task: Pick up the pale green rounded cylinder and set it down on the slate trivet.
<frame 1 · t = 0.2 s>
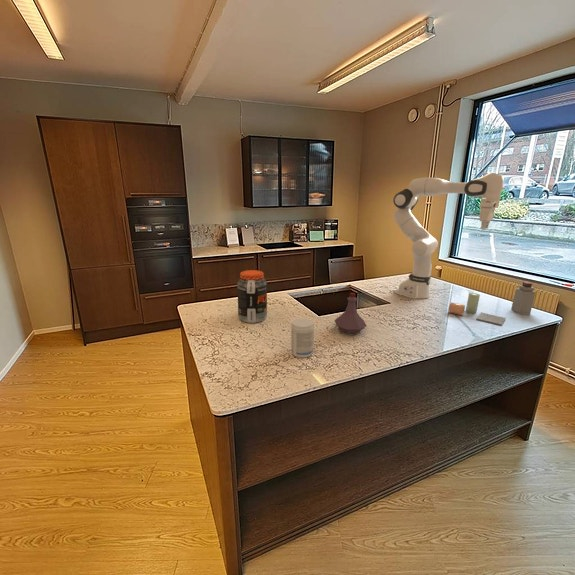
hand: (484, 228, 183), 48 cm above the countertop, tool pointing down, fingers open, 8 cm apart
perfume bottle: (520, 311, 191), on the countertop
pale green rounded cylinder: (470, 311, 189), on the countertop
supplement tub: (301, 353, 141), on the countertop
supplement tub 2: (252, 318, 177), on the countertop
tipped terracotta pot: (455, 313, 186), on the countertop
flask: (349, 331, 163), on the countertop
slate trivet: (490, 319, 179), on the countertop
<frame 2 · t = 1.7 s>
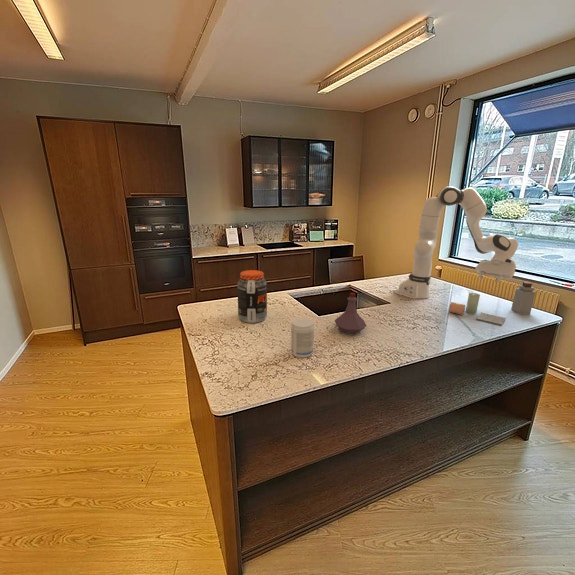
hand: (488, 280, 190), 18 cm above the countertop, tool tilted 45°, fingers open, 8 cm apart
tipped terracotta pot: (455, 313, 186), on the countertop, tilted 21°
everything else where it was.
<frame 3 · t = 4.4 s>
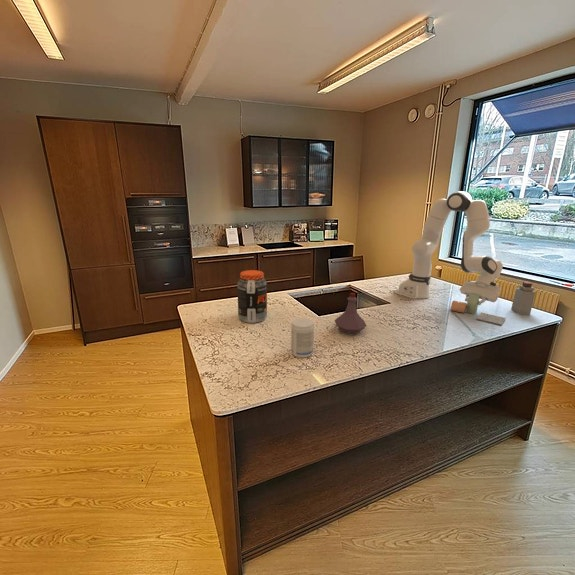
hand: (472, 302, 187), 6 cm above the countertop, tool tilted 45°, fingers closed on pale green rounded cylinder, 6 cm apart
pale green rounded cylinder: (470, 311, 189), on the countertop, touching gripper
tipped terracotta pot: (457, 307, 187), point 3 cm above the countertop, tilted 93°
everything else where it was.
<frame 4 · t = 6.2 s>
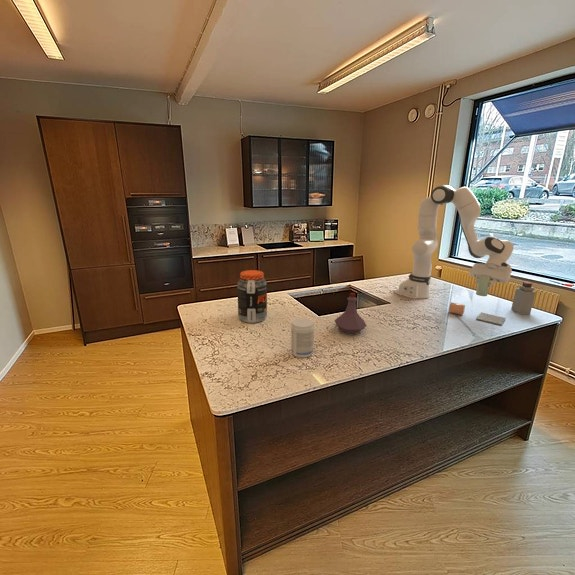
hand: (482, 284, 180), 18 cm above the countertop, tool tilted 45°, fingers closed on pale green rounded cylinder, 6 cm apart
pale green rounded cylinder: (481, 294, 182), point 12 cm above the countertop, touching gripper
tipped terracotta pot: (455, 313, 186), on the countertop, tilted 7°
everything else where it was.
when the fingers open (8 cm above the countertop, at t = 9.0 s): pale green rounded cylinder stays where it is, resting on slate trivet.
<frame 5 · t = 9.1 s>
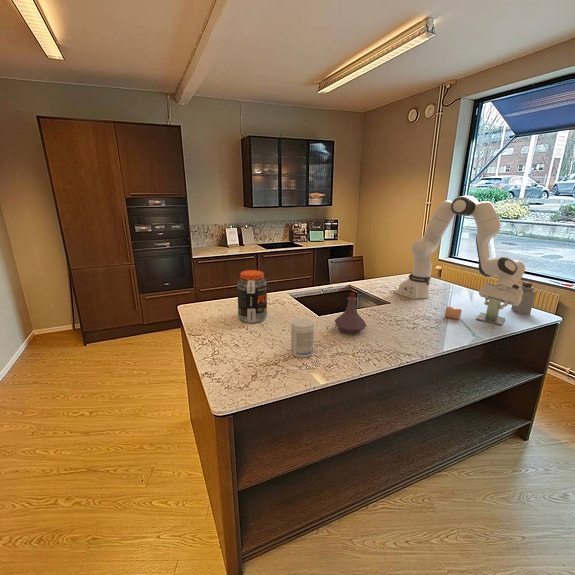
hand: (492, 306, 176), 8 cm above the countertop, tool tilted 45°, fingers open, 6 cm apart
pale green rounded cylinder: (491, 317, 179), point 1 cm above the countertop, touching slate trivet
tipped terracotta pot: (454, 307, 179), point 6 cm above the countertop, tilted 160°
everything else where it was.
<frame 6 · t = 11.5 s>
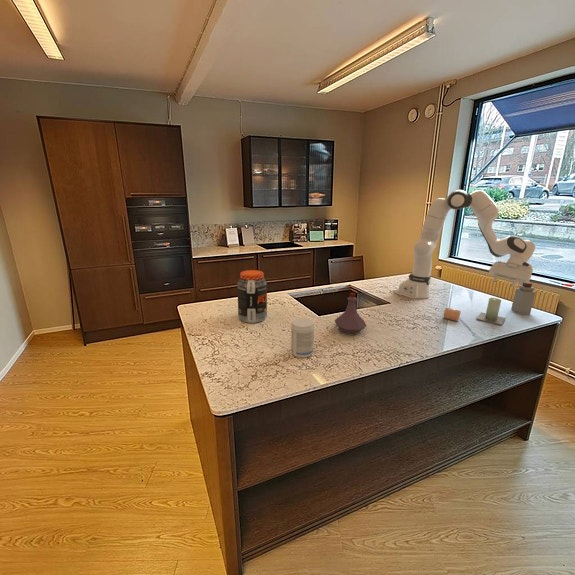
hand: (502, 283, 182), 18 cm above the countertop, tool tilted 45°, fingers open, 8 cm apart
tipped terracotta pot: (452, 310, 176), point 5 cm above the countertop, tilted 149°
everything else where it was.
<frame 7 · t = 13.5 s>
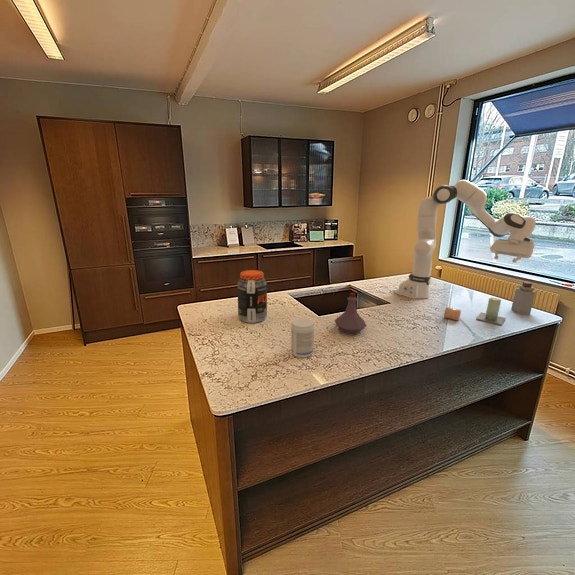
hand: (504, 260, 180), 31 cm above the countertop, tool tilted 45°, fingers open, 8 cm apart
tipped terracotta pot: (452, 309, 177), point 6 cm above the countertop, tilted 167°
everything else where it was.
at the end: pale green rounded cylinder inside the target area on the slate trivet (0.1 cm from its centre), point 0.8 cm above the slate trivet's base; pale green rounded cylinder tilted 1°; the gripper is holding nothing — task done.
